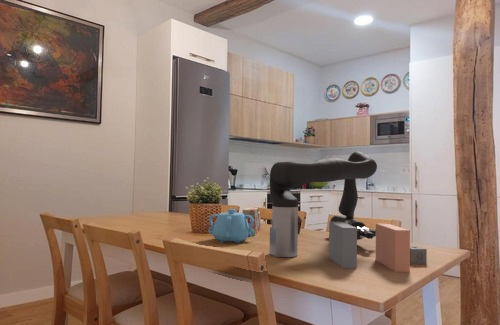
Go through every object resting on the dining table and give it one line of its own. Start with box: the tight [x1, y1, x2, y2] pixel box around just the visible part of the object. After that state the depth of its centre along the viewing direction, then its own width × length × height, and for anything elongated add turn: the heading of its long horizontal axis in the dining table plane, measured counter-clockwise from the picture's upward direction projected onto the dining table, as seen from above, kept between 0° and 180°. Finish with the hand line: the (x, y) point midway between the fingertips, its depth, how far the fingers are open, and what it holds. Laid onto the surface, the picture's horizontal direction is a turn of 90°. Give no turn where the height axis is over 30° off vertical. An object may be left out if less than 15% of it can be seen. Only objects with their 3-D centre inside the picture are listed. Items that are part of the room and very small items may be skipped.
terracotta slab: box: [375, 223, 411, 273], centre depth 118 cm, size 15×4×12 cm, turn 3°
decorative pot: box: [208, 208, 254, 244], centre depth 157 cm, size 16×16×14 cm
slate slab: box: [328, 221, 358, 269], centre depth 121 cm, size 15×4×12 cm, turn 4°
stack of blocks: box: [242, 206, 261, 237], centre depth 181 cm, size 21×6×12 cm, turn 172°
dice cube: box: [410, 245, 428, 265], centre depth 123 cm, size 5×5×5 cm
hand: (370, 235), depth 137 cm, fingers closed
